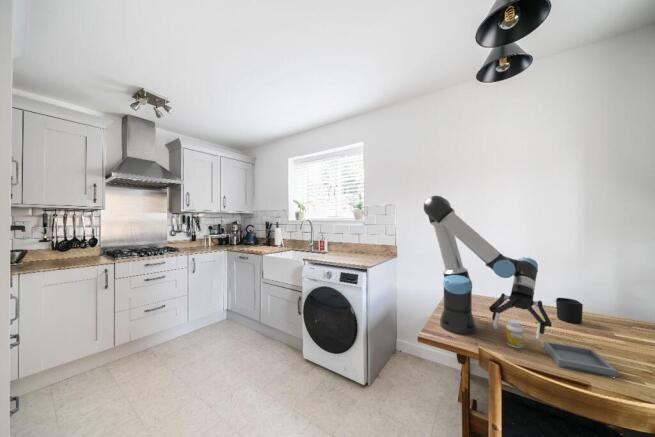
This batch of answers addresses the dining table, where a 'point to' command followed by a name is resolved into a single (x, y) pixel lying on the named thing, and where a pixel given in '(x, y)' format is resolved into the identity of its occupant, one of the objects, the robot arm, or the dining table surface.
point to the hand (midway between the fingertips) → (514, 333)
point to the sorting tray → (579, 359)
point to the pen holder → (569, 310)
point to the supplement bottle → (514, 334)
